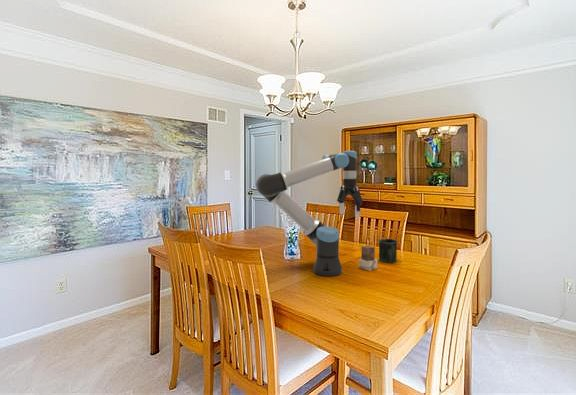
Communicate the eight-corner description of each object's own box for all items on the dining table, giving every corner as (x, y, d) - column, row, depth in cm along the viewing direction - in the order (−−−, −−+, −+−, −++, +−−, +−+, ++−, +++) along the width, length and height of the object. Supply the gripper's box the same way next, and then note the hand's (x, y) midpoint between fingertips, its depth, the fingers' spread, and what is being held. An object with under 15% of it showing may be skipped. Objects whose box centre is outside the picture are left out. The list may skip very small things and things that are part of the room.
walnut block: (367, 261, 174) (367, 248, 174) (361, 258, 179) (361, 246, 178) (374, 259, 177) (374, 247, 176) (368, 257, 181) (368, 245, 180)
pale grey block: (369, 271, 173) (369, 262, 173) (359, 268, 178) (359, 259, 178) (377, 268, 178) (377, 259, 177) (366, 265, 183) (366, 257, 183)
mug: (375, 261, 190) (376, 241, 189) (382, 255, 203) (383, 236, 202) (394, 264, 185) (395, 243, 184) (400, 258, 197) (400, 238, 196)
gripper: (370, 178, 174) (369, 217, 176) (341, 177, 196) (341, 212, 198) (359, 179, 170) (358, 218, 172) (331, 178, 192) (331, 213, 194)
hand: (349, 215), depth 185 cm, fingers open, 13 cm apart
